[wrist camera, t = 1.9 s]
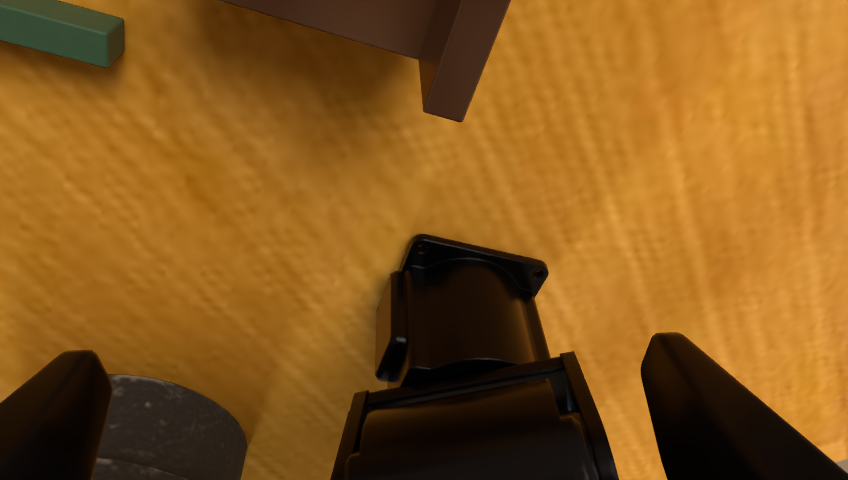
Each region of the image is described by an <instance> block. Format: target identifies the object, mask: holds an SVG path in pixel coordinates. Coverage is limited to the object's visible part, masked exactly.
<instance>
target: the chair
mask: <svg viewBox="0 0 848 480" xmlns="http://www.w3.org/2000/svg"><path fill="white" fill-rule="evenodd" d="M219 1H223V2H226V3H229V4H233V5H236V6H239V7H243V8H246V9H249V10H253V11H256V12H260V13H263V14H266V15H270V16H273V17H276V18H280V19H283V20H286V21H290V22H293V23H297V24H300V25H303V26H307V27H310V28H313V29H317V30H320V31H323V32H327V33H330V34H333V35H337V36H340V37H344V38H347V39H350V40H354V41H357V42H360V43H364V44H367V45H370V46H374V47H377V48H381V49H384V50H387V51H391V52H394V53H397V54H401V55H404V56H407V57H411V58H414V59H418V60H419V70H420V81H421V92H422V103H423V111H424V112H425V113H429V114H432V115H436V116H439V117H443V118H447V119H450V120H454V121H457V122H462V121H463V120H464V117H465V115H466V112H467V110H468V107H469V105H470V102H471V100H472V97H473V95H474V92H475V90H476V87H477V85H478V82H479V80H480V77H481V74H482V72H483V69H484V67H485V64H486V62H487V59H488V57H489V54H490V52H491V49H492V47H493V44H494V42H495V39H496V37H497V34H498V32H499V29H500V27H501V24H502V22H503V19H504V17H505V14H506V11H507V9H508V6H509V4H510V1H511V0H219Z"/></svg>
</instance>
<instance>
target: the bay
mask: <svg viewBox="0 0 848 480" xmlns="http://www.w3.org/2000/svg"><path fill="white" fill-rule="evenodd" d="M0 41H4V42H8V43H12V44H16V45H19V46H23V47H27V48H31V49H35V50H39V51H42V52H46V53H50V54H54V55H58V56H62V57H65V58H69V59H73V60H77V61H81V62H85V63H88V64H92V65H96V66H100V67H104V68H108V67H109V66H110V65H111V64H112V63H113V62H114V61H115V60H116V59H117V58H118V57H119V56H120V55H121V54H122V53H123V52H124V20H123V19H122V18H119V17H115V16H111V15H108V14H104V13H101V12H97V11H94V10H90V9H87V8H83V7H79V6H76V5H72V4H69V3H65V2H62V1H58V0H0Z"/></svg>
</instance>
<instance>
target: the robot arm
mask: <svg viewBox="0 0 848 480" xmlns="http://www.w3.org/2000/svg"><path fill="white" fill-rule="evenodd" d="M420 244H425V245H426V246H425V247H418V245H420ZM536 270H540V271H539V272H534V271H536ZM547 276H548V269H547V265H546V264H545V262H543V261H541V260H537V259H532V258H528V257H523V256H519V255H515V254H510V253H506V252H501V251H497V250H493V249H488V248H484V247H479V246H475V245H470V244H466V243H462V242H457V241H453V240H448V239H444V238H440V237H435V236H431V235H426V234H419V235H416V236H414V237H413V238H412V240H411V242H410V244H409V247H408V249H407V252H406V255H405V257H404V260H403V262H402V265H401V267H400V270H399V271H394V272H393V273H391V274H390V277H389V279H388V282H387V285H386V287H385V290H384V292H383V295H382V298H381V300H380V303H379V306H378V308H377V322H376V356H375V376H376V377H377V379H378V380H379V381H384V382H388V387H387V389H386V390H380V391H375V392H369V391H362V392H357V393H355V394H354V397H353V401H352V404H351V408H350V411H349V412H348V416H347V420H346V423H345V427H344V431H343V434H342V438H341V442H340V446H339V449H338V453H337V457H336V460H335V464H334V468H333V472H332V475H331V479H330V480H619V478H618V474H617V470H616V466H615V463H614V459H613V455H612V452H611V448H610V445H609V442H608V438H607V435H606V432H605V429H604V426H603V424H602V421H601V418H600V416H599V413H598V411H597V408H596V406H595V403H594V401H593V398H592V396H591V393H590V391H589V388H588V385H587V383H586V380H585V378H584V375H583V373H582V370H581V368H580V365H579V363H578V360H577V358H576V355H575V353H574V351H572V352H567V353H562V354H560V356H559V357H554V358H551V357H550V354H549V350H548V346H547V343H546V339H545V335H544V332H543V328H542V324H541V321H540V317H539V313H538V310H537V306H536V302H535V299H534V298H535V296H536V295H537V293H538V291H539V290H540V288H541V286H542V285H543V283H544V281H545V280H546V278H547ZM641 378H642V383H643V387H644V391H645V395H646V399H647V404H648V408H649V412H650V416H651V420H652V424H653V429H654V433H655V437H656V441H657V445H658V449H659V453H660V457H661V461H662V464H663V467H664V470H665V473H666V476H667V479H668V480H848V473H847V472H845V471H844V470H843V469H842V468H841V467H839V466H838V465H837V464H836V463H835V462H834V461H832V460H831V459H830V458H829V457H828V456H826V455H825V454H824V453H823V452H822V451H820V450H819V449H818V448H817V447H816V446H815V445H813V444H812V443H811V442H810V441H809V440H807V439H806V438H805V437H804V436H803V435H802V434H800V433H799V432H798V431H797V430H796V429H794V428H793V427H792V426H791V425H790V424H788V423H787V422H786V421H785V420H784V419H783V418H781V417H780V416H779V415H778V414H777V413H775V412H774V411H773V410H772V409H771V408H770V407H768V406H767V405H766V404H765V403H764V402H762V401H761V400H760V399H759V398H758V397H756V396H755V395H754V394H753V393H752V392H751V391H749V390H748V389H747V388H746V387H745V386H743V385H742V384H741V383H740V382H739V381H737V380H736V379H735V378H734V377H733V376H732V375H730V374H729V373H728V372H727V371H726V370H724V369H723V368H722V367H721V366H720V365H719V364H717V363H716V362H715V361H714V360H713V359H711V358H710V357H709V356H708V355H707V354H705V353H704V352H703V351H702V350H701V349H700V348H698V347H697V346H696V345H695V344H694V343H692V342H691V341H690V340H689V339H688V338H687V337H685V336H684V335H682V334H680V333H677V332H669V333H656V334H655V335H653V336H652V338H651V340H650V343H649V346H648V348H647V351H646V354H645V356H644V359H643V361H642V365H641ZM112 393H113V386H112V382H111V379H110V377H109V376H108V374H107V372H106V370H105V368H104V366H103V365H102V363H101V361H100V359H99V357H98V355H97V354H96V353H95V352H93V351H92V350H72V351H66V352H64V353H62V354H60V355H59V356H58V357H56V358H55V359H54V360H53V361H51V362H50V363H49V364H48V365H47V366H45V367H44V368H43V369H42V370H40V371H39V372H38V373H37V374H36V375H34V376H33V377H32V378H31V379H29V380H28V381H27V382H26V383H24V384H23V385H22V386H21V387H20V388H18V389H17V390H16V391H15V392H13V393H12V394H11V395H10V396H9V397H7V398H6V399H5V400H4V401H2V402H1V403H0V480H92V477H93V473H94V469H95V465H96V461H97V457H98V453H99V449H100V444H101V440H102V436H103V432H104V428H105V424H106V420H107V415H108V411H109V407H110V403H111V399H112Z"/></svg>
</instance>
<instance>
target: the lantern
mask: <svg viewBox="0 0 848 480" xmlns="http://www.w3.org/2000/svg"><path fill="white" fill-rule="evenodd" d="M108 376H109V377H110V379H111V382H112V386H113V393H112V399H111V403H110V407H109V411H108V415H107V420H106V424H105V428H104V432H103V436H102V440H101V444H100V449H99V453H98V457H97V461H96V465H95V469H94V473H93V477H92V480H240V479H241V475H242V470H243V465H244V461H245V456H246V450H247V442H246V437H245V434H244V432H243V430H242V428H241V427H240V425H239V423H238V422H237V421H236V420H235V419H234V418H233V417H232V416H231V414H230V413H229V412H228V411H226V410H225V409H224V408H222V407H221V406H219V405H218V404H217V403H215V402H214V401H212V400H210V399H208V398H207V397H205V396H203V395H201V394H199V393H197V392H195V391H192V390H190V389H187V388H184V387H182V386H179V385H176V384H173V383H169V382H165V381H161V380H157V379H153V378H147V377H139V376H132V375H108Z"/></svg>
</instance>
